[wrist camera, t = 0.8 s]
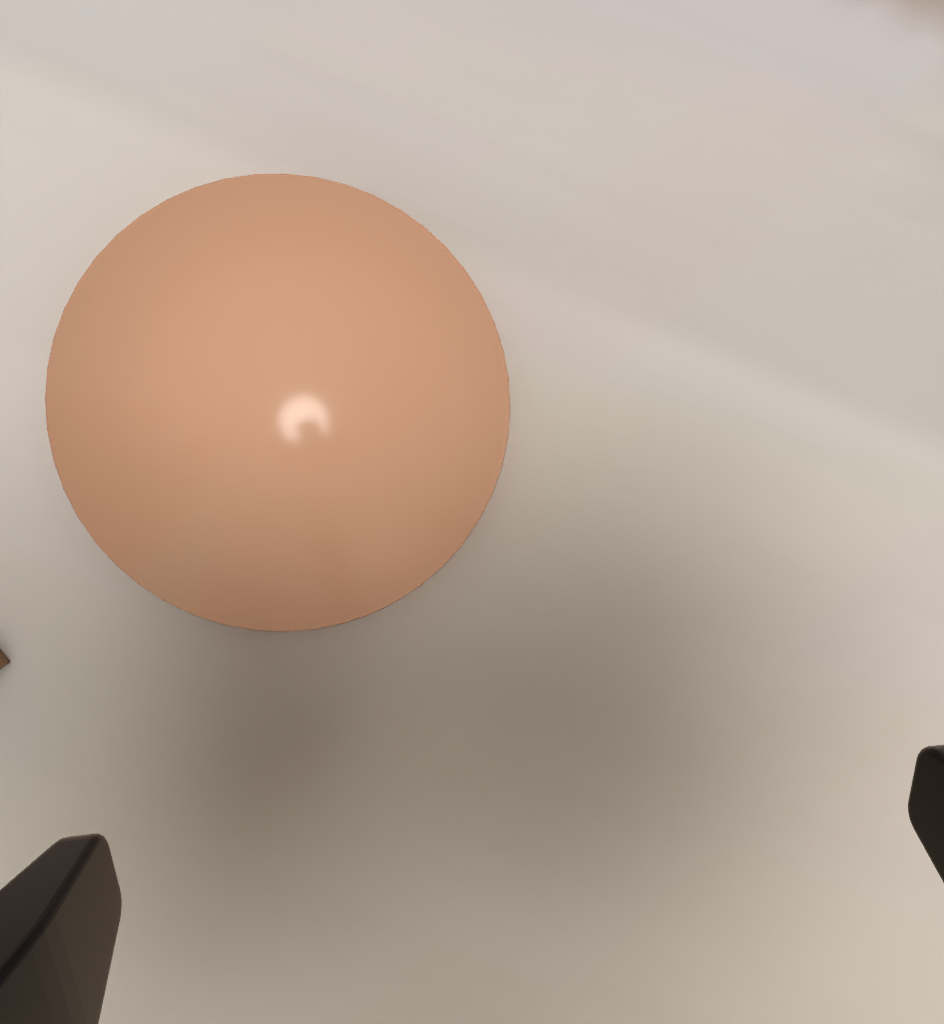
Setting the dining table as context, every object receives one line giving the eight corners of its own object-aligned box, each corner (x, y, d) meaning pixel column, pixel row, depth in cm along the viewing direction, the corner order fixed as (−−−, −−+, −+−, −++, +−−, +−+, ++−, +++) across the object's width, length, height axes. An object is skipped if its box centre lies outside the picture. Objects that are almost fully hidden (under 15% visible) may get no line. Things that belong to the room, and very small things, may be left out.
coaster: (405, 692, 22) (405, 699, 22) (-15, 524, 21) (-31, 525, 21) (572, 296, 23) (578, 289, 22) (166, 111, 22) (157, 96, 21)
